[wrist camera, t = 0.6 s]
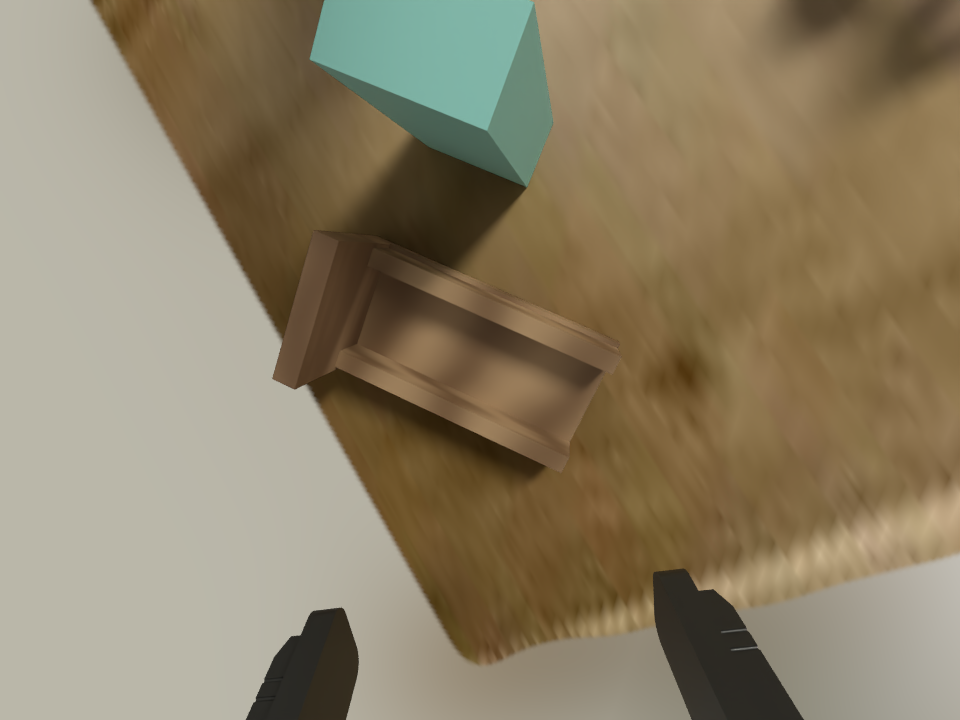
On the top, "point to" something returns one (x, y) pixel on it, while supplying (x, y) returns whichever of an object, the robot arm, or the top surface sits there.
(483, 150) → the teal rectangular block
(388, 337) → the brown wooden drawer
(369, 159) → the top surface
